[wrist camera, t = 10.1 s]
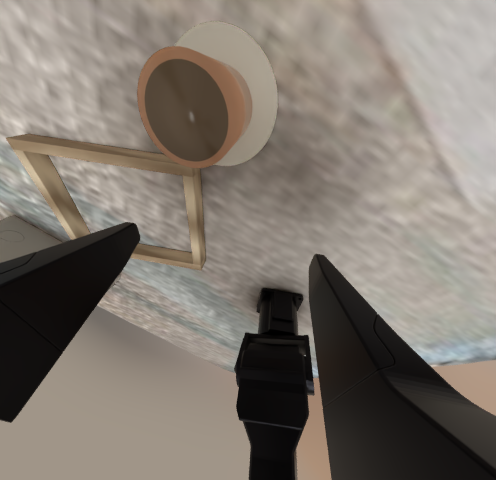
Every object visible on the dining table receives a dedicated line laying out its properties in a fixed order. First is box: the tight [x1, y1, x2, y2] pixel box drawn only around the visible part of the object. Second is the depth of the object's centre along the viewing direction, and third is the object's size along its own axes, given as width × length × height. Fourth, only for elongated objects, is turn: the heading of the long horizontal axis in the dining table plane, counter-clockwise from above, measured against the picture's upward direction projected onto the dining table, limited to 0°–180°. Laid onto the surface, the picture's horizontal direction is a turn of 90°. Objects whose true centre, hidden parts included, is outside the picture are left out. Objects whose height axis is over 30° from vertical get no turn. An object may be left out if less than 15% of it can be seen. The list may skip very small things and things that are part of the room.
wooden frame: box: [6, 134, 206, 270], centre depth 23 cm, size 14×18×2 cm
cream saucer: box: [174, 21, 278, 166], centre depth 15 cm, size 9×9×1 cm
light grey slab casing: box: [0, 215, 121, 291], centre depth 28 cm, size 17×5×10 cm, turn 47°
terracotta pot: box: [137, 46, 253, 168], centre depth 12 cm, size 5×5×6 cm
